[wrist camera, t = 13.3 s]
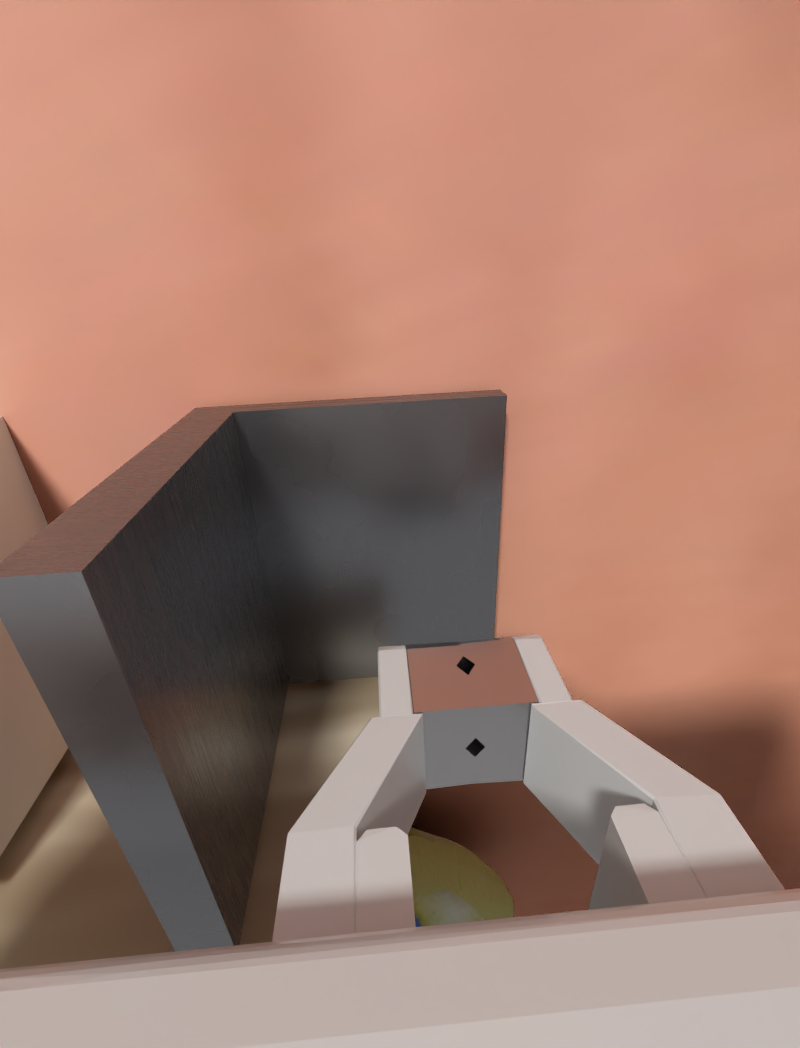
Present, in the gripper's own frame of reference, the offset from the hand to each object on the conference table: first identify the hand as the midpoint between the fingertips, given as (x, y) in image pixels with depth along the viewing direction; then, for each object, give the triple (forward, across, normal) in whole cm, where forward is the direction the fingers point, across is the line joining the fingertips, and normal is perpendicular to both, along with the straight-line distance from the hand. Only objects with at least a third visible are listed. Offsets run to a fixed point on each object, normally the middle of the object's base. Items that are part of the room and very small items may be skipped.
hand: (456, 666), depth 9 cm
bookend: (+4, +2, 0) cm, 5 cm away
